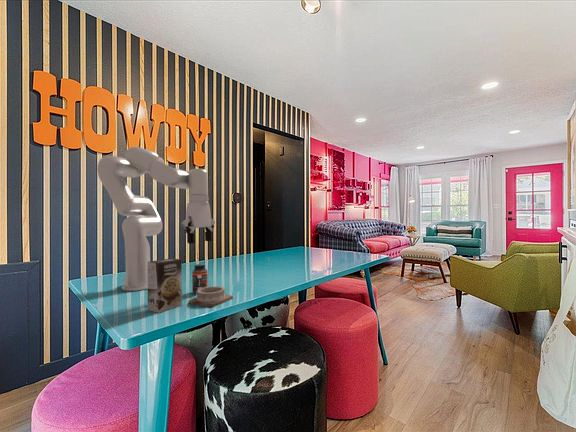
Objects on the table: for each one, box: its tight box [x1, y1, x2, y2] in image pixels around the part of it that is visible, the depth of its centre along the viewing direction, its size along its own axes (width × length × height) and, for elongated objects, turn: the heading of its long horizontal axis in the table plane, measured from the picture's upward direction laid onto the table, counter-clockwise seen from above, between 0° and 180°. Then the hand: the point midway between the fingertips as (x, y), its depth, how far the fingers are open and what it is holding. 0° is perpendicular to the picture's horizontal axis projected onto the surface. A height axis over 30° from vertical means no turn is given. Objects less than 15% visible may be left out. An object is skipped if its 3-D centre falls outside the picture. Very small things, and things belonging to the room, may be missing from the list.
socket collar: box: [187, 285, 234, 308], centre depth 101 cm, size 11×11×4 cm
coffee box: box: [147, 258, 183, 314], centre depth 94 cm, size 9×6×16 cm
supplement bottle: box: [191, 263, 209, 295], centre depth 113 cm, size 6×6×11 cm
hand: (200, 242), depth 113 cm, fingers open, 9 cm apart
